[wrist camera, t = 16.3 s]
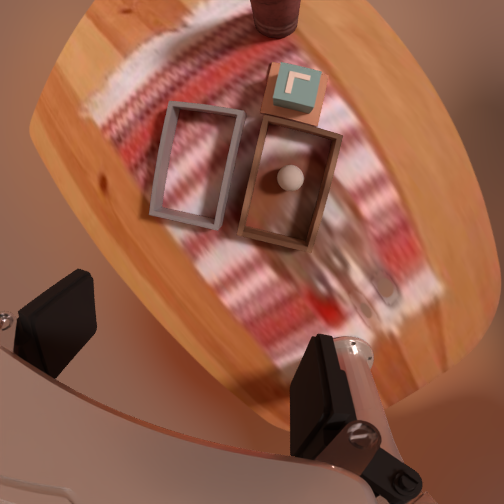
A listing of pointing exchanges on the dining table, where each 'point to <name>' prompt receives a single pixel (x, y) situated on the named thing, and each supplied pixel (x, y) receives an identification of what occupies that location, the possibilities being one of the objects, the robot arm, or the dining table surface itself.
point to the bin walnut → (322, 196)
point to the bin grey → (164, 158)
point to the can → (275, 16)
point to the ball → (290, 178)
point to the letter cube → (296, 88)
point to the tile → (289, 113)
